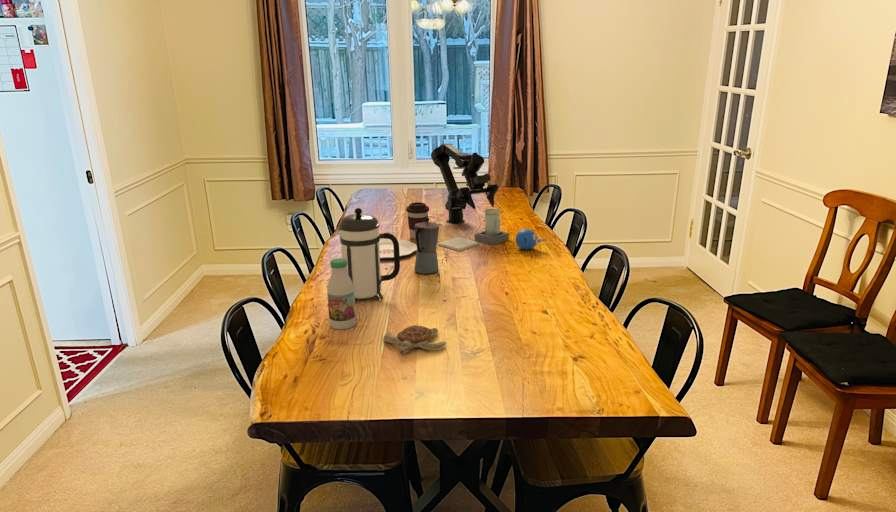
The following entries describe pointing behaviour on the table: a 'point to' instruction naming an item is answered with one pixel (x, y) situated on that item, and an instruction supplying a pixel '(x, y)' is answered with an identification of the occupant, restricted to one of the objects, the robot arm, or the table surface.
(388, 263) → the table surface
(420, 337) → the decorative turtle
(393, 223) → the table surface
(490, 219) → the grey domed cup
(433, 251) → the moka pot
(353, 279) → the coffee press
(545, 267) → the table surface
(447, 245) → the plate
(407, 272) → the table surface
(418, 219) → the coffee cup
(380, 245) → the plate
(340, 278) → the milk bottle
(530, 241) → the blue mole toy
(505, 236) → the holder
